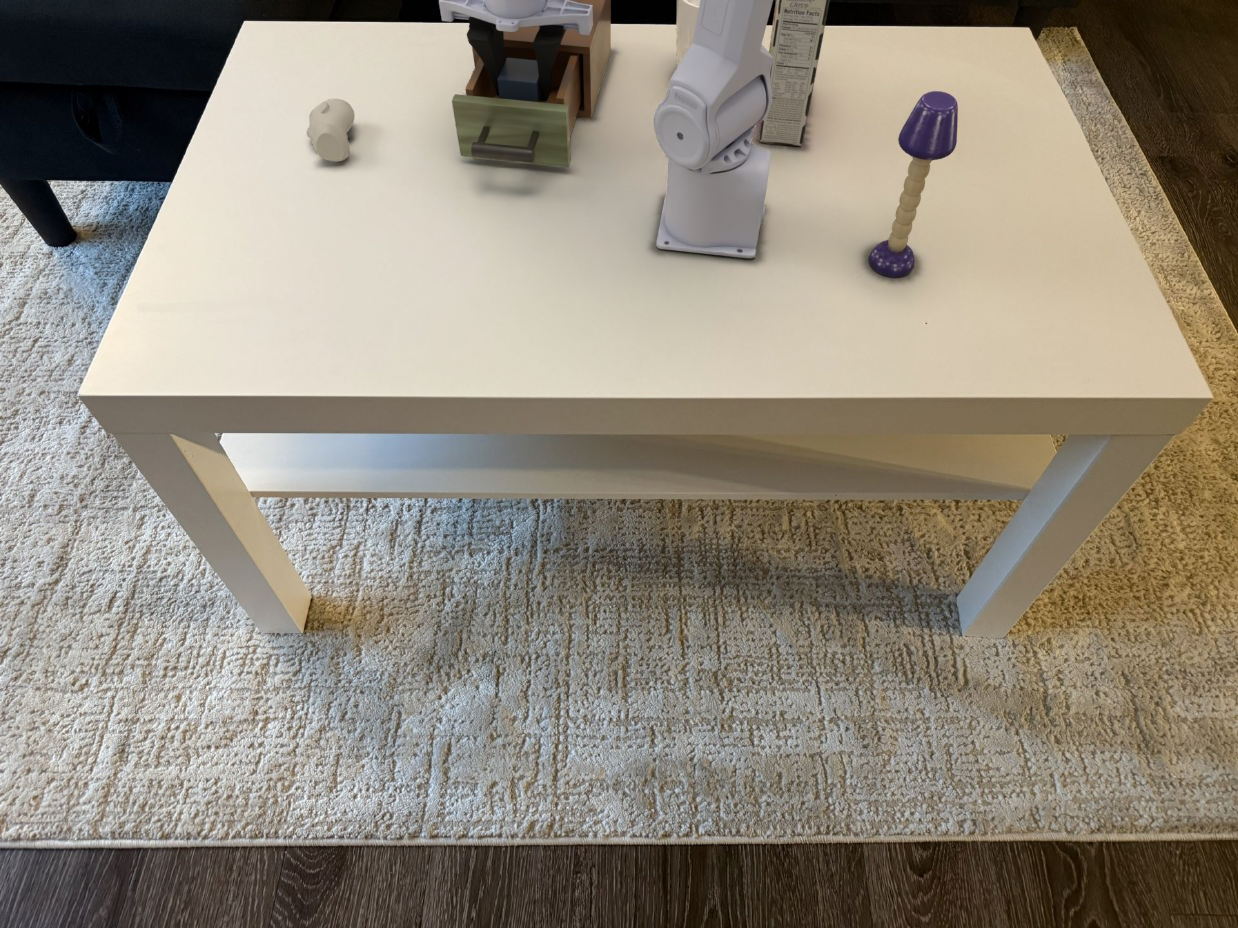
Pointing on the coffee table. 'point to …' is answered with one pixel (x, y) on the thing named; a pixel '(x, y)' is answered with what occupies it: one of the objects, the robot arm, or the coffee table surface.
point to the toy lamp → (917, 175)
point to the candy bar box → (793, 68)
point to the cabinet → (577, 50)
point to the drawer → (520, 115)
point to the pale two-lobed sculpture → (331, 129)
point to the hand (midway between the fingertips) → (523, 93)
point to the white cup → (685, 26)
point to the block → (519, 80)
